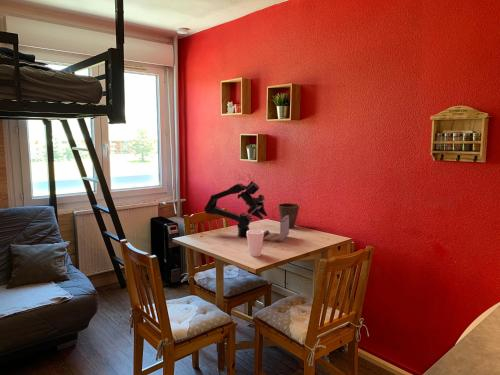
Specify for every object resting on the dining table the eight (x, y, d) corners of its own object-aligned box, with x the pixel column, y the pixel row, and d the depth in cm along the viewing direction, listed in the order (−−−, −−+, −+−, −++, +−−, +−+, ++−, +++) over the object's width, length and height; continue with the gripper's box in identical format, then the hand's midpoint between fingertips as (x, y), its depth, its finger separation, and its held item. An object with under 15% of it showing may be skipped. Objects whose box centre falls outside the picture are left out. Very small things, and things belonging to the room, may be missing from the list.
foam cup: (254, 251, 214) (254, 228, 213) (267, 254, 209) (267, 231, 207) (243, 255, 207) (243, 232, 205) (256, 258, 201) (256, 234, 200)
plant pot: (298, 229, 263) (298, 207, 261) (276, 228, 266) (276, 206, 264) (299, 225, 277) (299, 203, 275) (279, 224, 280) (279, 203, 278)
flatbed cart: (259, 240, 235) (259, 236, 235) (266, 234, 250) (266, 230, 250) (279, 242, 231) (279, 238, 231) (286, 236, 246) (286, 231, 245)
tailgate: (279, 240, 231) (280, 220, 229) (286, 234, 246) (286, 215, 244) (282, 240, 230) (282, 220, 228) (289, 234, 245) (289, 215, 243)
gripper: (252, 193, 232) (269, 211, 229) (261, 189, 249) (277, 206, 247) (240, 204, 235) (256, 223, 233) (250, 200, 253) (265, 217, 251)
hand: (264, 217), depth 241 cm, fingers open, 9 cm apart
